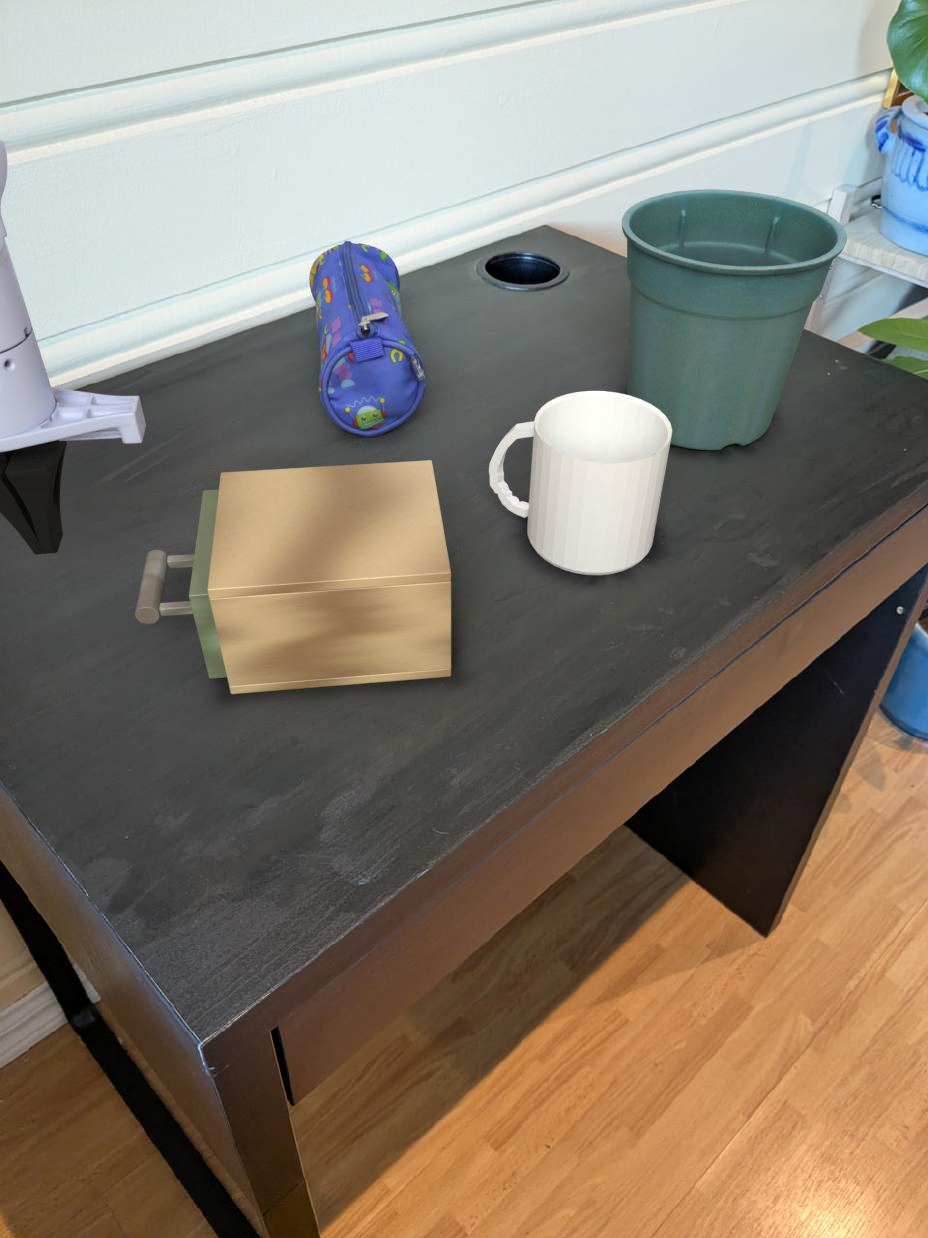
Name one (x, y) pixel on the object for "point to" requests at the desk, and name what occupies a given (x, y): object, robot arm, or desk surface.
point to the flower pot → (721, 306)
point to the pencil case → (364, 341)
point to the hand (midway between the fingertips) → (48, 543)
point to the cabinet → (330, 576)
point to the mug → (590, 480)
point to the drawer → (198, 594)
